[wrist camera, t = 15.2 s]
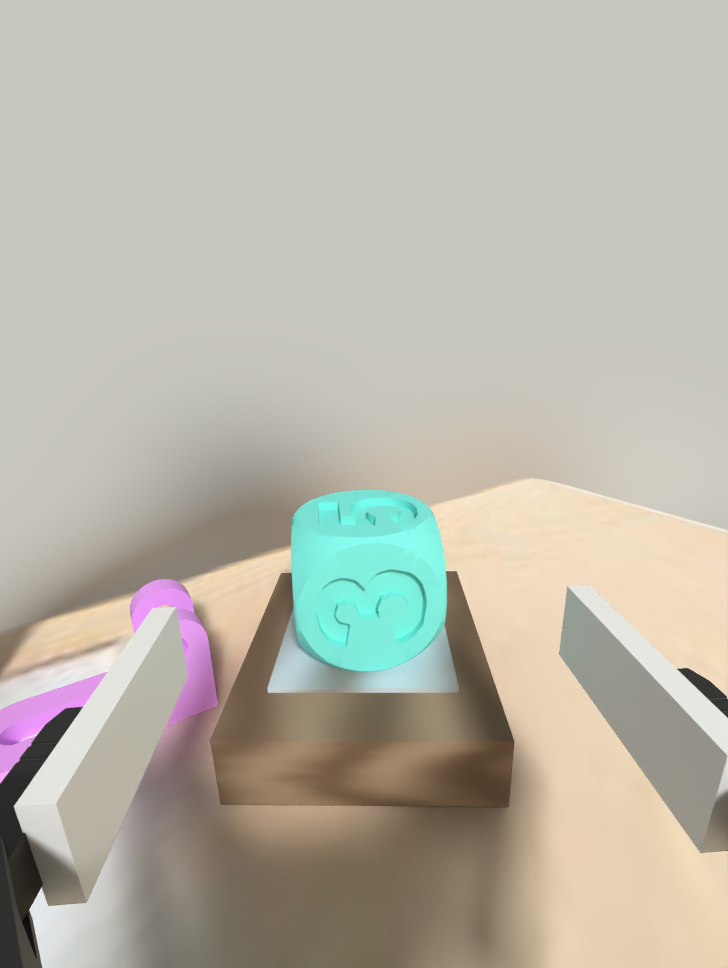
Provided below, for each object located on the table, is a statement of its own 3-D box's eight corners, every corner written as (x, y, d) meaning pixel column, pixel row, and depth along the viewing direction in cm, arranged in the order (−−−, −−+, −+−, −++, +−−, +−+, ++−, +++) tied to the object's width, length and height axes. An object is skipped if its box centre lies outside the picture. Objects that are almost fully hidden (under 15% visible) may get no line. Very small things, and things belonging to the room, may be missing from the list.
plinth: (221, 804, 22) (209, 735, 21) (285, 616, 38) (280, 569, 36) (508, 806, 22) (514, 736, 20) (455, 615, 37) (456, 568, 36)
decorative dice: (303, 600, 32) (295, 492, 29) (416, 591, 32) (416, 485, 30) (299, 681, 24) (287, 544, 22) (446, 667, 25) (450, 533, 22)
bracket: (199, 658, 33) (185, 572, 31) (218, 707, 29) (203, 611, 26) (-28, 738, 27) (-65, 638, 25) (-50, 818, 22) (-97, 703, 20)
